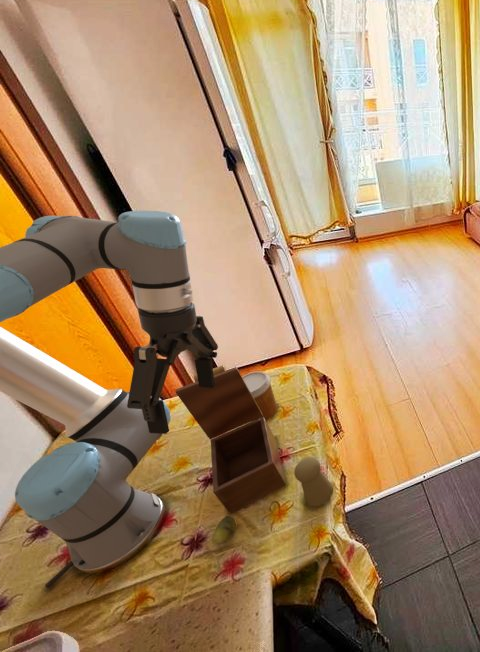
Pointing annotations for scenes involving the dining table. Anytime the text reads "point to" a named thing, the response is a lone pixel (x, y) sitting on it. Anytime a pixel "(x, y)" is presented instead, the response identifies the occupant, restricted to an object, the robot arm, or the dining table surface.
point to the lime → (224, 530)
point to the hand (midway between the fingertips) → (185, 407)
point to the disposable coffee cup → (261, 392)
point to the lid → (220, 402)
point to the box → (245, 465)
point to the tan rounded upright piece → (313, 481)
